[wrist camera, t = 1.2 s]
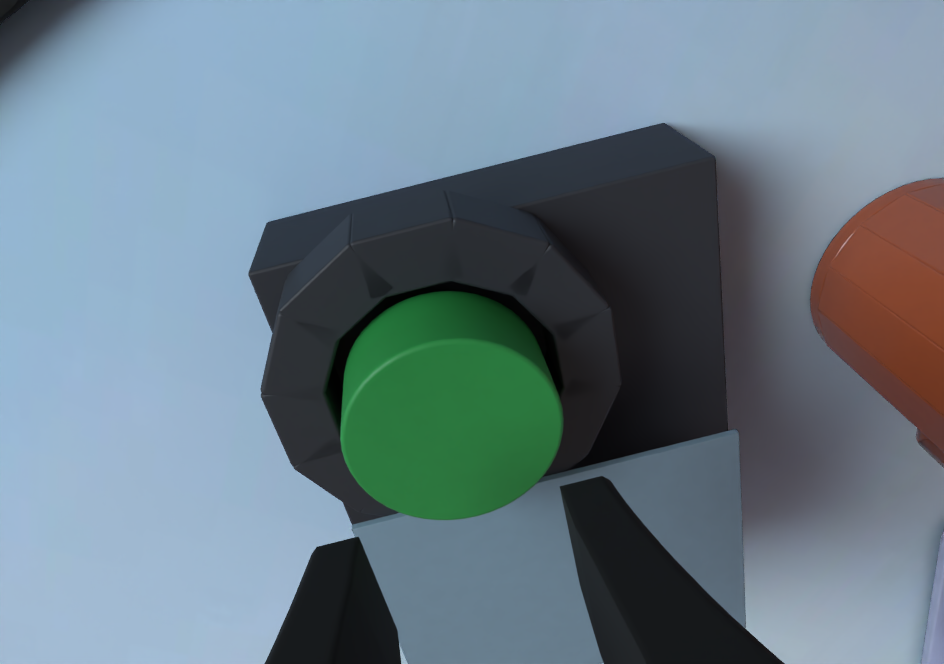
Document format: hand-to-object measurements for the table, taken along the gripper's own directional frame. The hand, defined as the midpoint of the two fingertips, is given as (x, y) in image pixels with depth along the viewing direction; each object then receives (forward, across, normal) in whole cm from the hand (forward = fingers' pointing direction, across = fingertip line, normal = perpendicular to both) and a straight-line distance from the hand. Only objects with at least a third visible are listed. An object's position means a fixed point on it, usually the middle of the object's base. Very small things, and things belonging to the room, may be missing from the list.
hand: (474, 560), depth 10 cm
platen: (+4, -2, +6) cm, 8 cm away
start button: (+5, 0, 0) cm, 5 cm away
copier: (+9, -2, +4) cm, 10 cm away
